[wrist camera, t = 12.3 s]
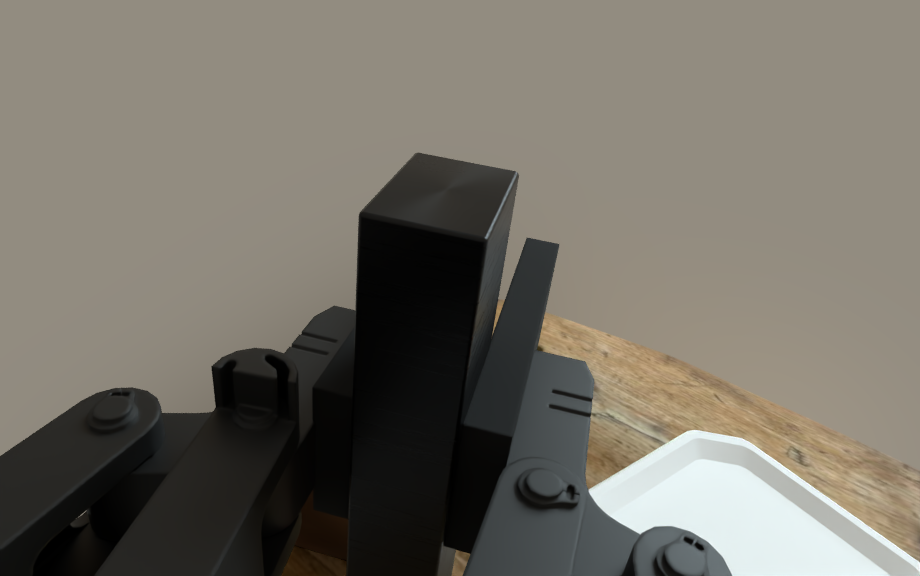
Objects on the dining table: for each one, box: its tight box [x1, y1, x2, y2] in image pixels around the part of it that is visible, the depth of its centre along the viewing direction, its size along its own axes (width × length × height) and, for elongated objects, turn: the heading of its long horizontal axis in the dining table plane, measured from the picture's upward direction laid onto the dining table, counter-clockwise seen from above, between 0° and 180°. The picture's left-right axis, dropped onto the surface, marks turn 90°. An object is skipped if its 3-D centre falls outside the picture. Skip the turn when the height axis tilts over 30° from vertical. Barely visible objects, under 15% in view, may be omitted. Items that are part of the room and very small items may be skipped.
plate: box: [588, 430, 920, 576], centre depth 43 cm, size 21×21×2 cm
